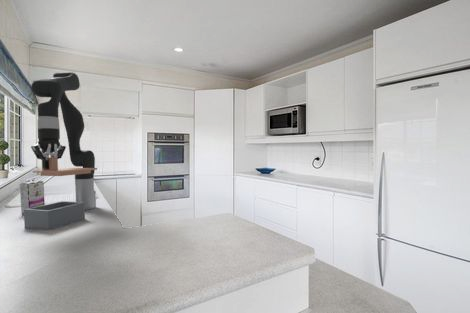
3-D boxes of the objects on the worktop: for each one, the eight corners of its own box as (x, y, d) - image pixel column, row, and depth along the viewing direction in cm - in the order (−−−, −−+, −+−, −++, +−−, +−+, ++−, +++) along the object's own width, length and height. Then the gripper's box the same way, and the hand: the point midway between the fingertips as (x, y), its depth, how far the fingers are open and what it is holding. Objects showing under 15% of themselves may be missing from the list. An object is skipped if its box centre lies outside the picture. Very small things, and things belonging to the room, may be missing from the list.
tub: (63, 217, 131) (62, 201, 130) (84, 218, 126) (84, 202, 126) (24, 227, 113) (23, 209, 113) (48, 230, 109) (47, 211, 109)
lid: (73, 172, 129) (73, 156, 129) (97, 172, 124) (96, 156, 124) (33, 176, 111) (32, 157, 111) (58, 176, 106) (58, 157, 106)
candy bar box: (36, 209, 151) (35, 180, 150) (45, 209, 150) (44, 180, 150) (20, 213, 139) (19, 183, 139) (29, 213, 139) (28, 183, 139)
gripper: (58, 129, 118) (59, 168, 118) (24, 127, 104) (26, 170, 105) (70, 129, 115) (71, 168, 115) (37, 126, 102) (39, 170, 102)
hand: (50, 169), depth 110 cm, fingers closed on lid, 2 cm apart
